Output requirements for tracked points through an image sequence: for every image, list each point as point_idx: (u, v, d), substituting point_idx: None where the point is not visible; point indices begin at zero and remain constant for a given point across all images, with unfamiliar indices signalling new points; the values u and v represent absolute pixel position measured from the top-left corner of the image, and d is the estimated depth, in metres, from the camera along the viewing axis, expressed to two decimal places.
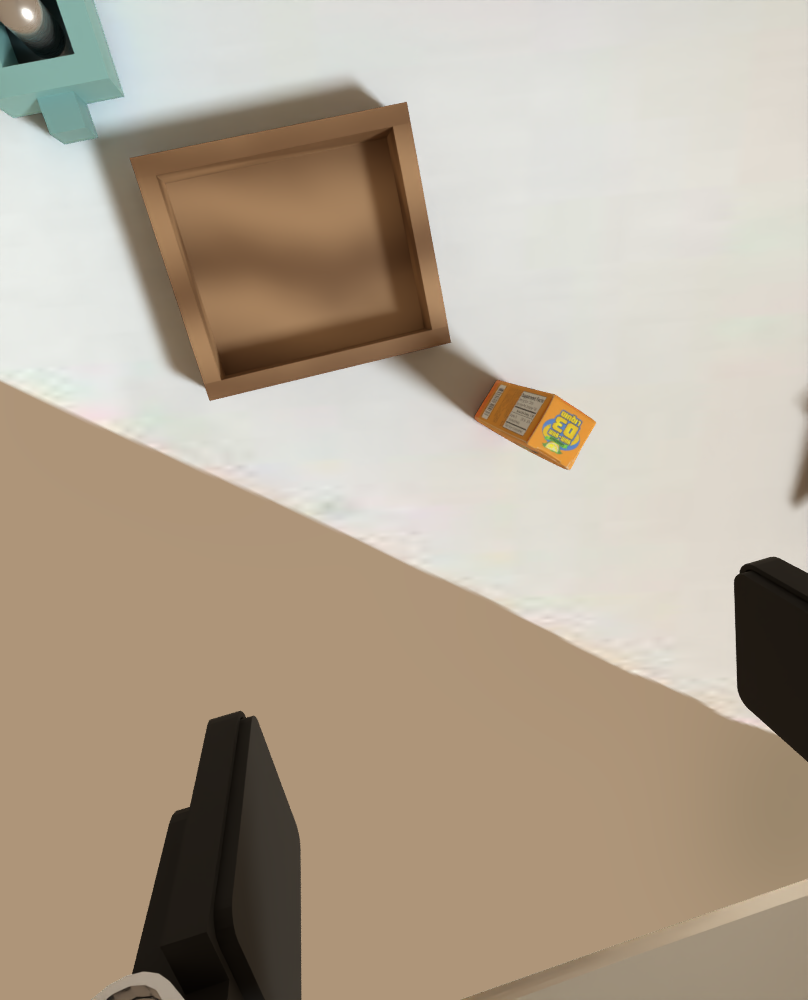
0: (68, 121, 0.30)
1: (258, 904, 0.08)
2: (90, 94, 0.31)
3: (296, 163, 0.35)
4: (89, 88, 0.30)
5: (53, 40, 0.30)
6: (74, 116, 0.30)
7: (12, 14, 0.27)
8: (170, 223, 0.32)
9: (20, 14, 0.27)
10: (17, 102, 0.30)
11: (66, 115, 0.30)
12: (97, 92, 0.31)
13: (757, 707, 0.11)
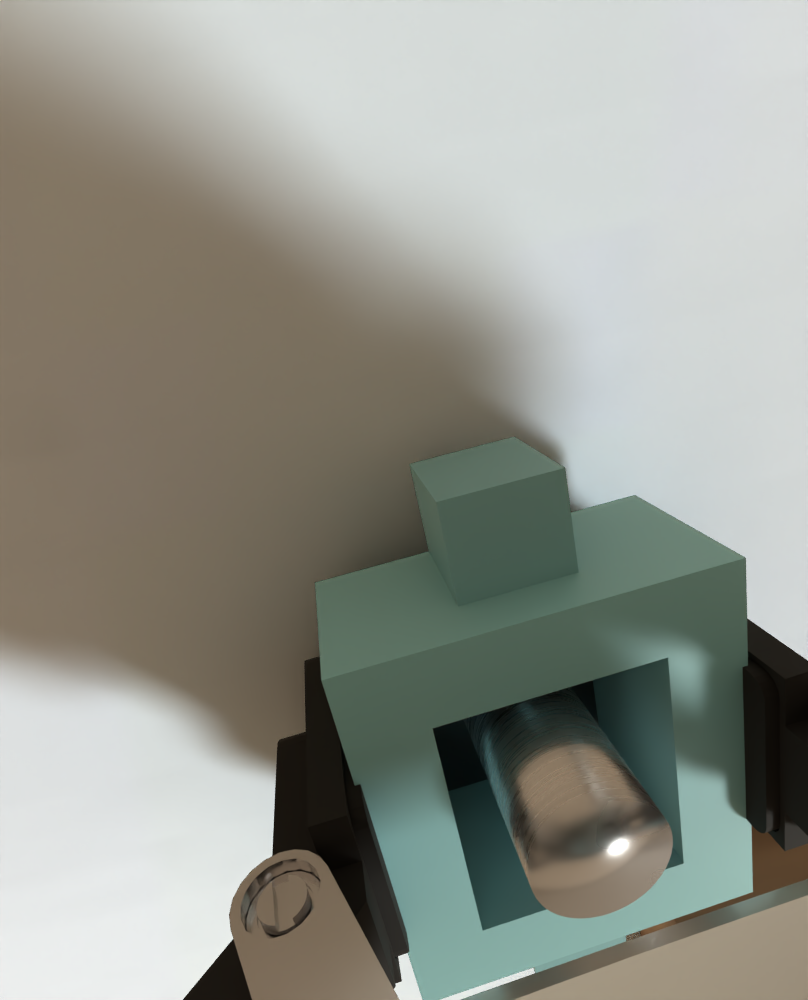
0: None
1: None
2: None
3: None
4: None
5: None
6: None
7: (595, 891, 0.08)
8: None
9: (618, 886, 0.08)
10: None
11: None
12: None
13: None
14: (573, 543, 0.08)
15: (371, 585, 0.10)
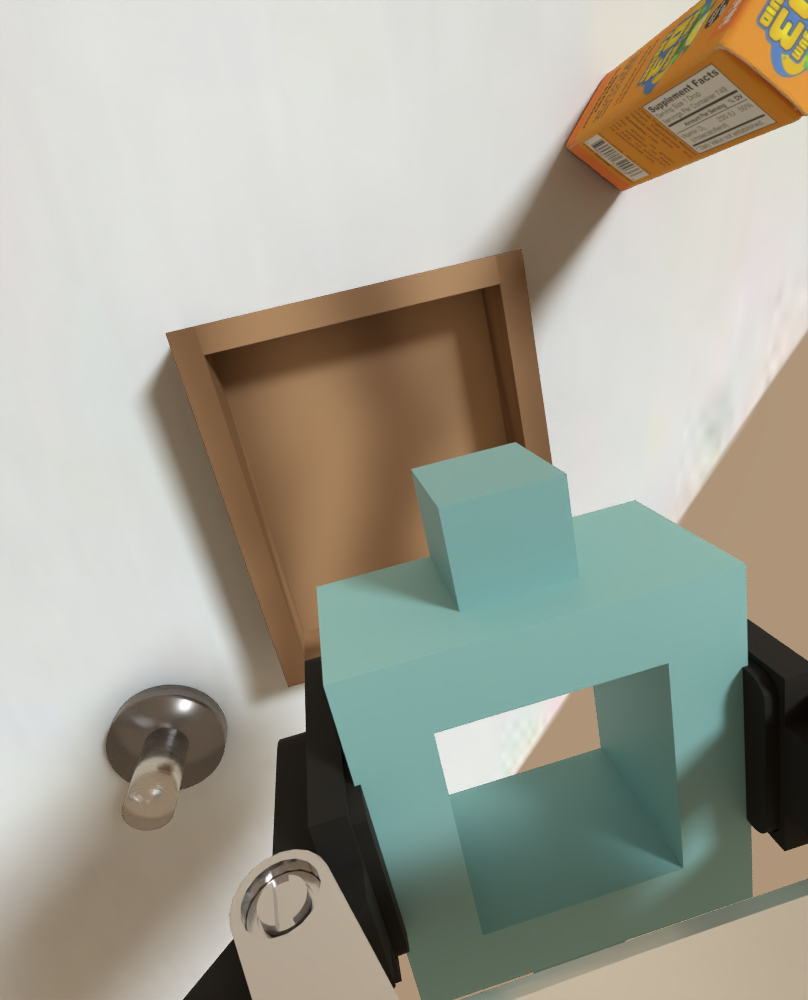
0: None
1: None
2: None
3: (262, 478, 0.25)
4: None
5: (172, 749, 0.26)
6: None
7: (161, 809, 0.24)
8: None
9: (160, 803, 0.24)
10: None
11: None
12: None
13: None
14: (574, 549, 0.08)
15: (372, 590, 0.10)
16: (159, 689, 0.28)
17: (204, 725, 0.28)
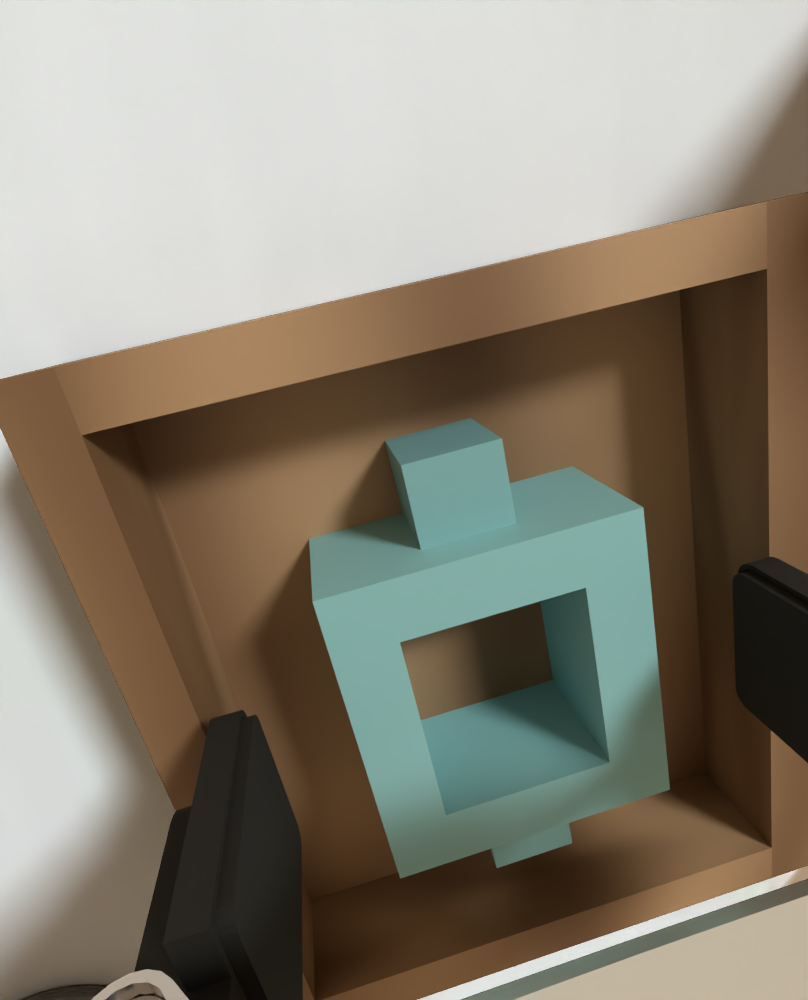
0: (539, 840, 0.13)
1: (260, 902, 0.08)
2: None
3: (235, 651, 0.13)
4: None
5: None
6: (553, 829, 0.13)
7: None
8: (418, 966, 0.13)
9: None
10: None
11: None
12: None
13: (755, 707, 0.11)
14: (511, 499, 0.11)
15: (354, 538, 0.12)
16: None
17: None
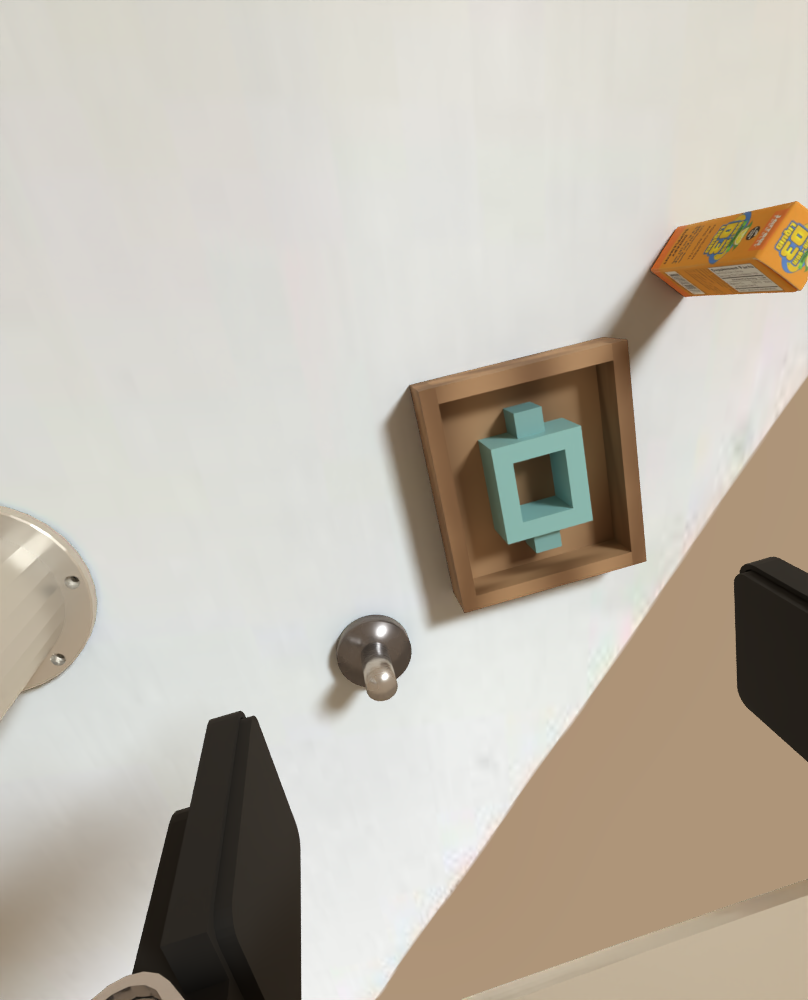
0: (551, 543, 0.40)
1: (258, 904, 0.08)
2: None
3: None
4: None
5: (385, 654, 0.40)
6: (555, 540, 0.40)
7: (390, 687, 0.38)
8: (510, 586, 0.40)
9: (389, 682, 0.38)
10: None
11: (550, 540, 0.40)
12: None
13: (757, 707, 0.11)
14: (543, 424, 0.37)
15: (494, 438, 0.38)
16: (371, 617, 0.42)
17: (399, 641, 0.42)
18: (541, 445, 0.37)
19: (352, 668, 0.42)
